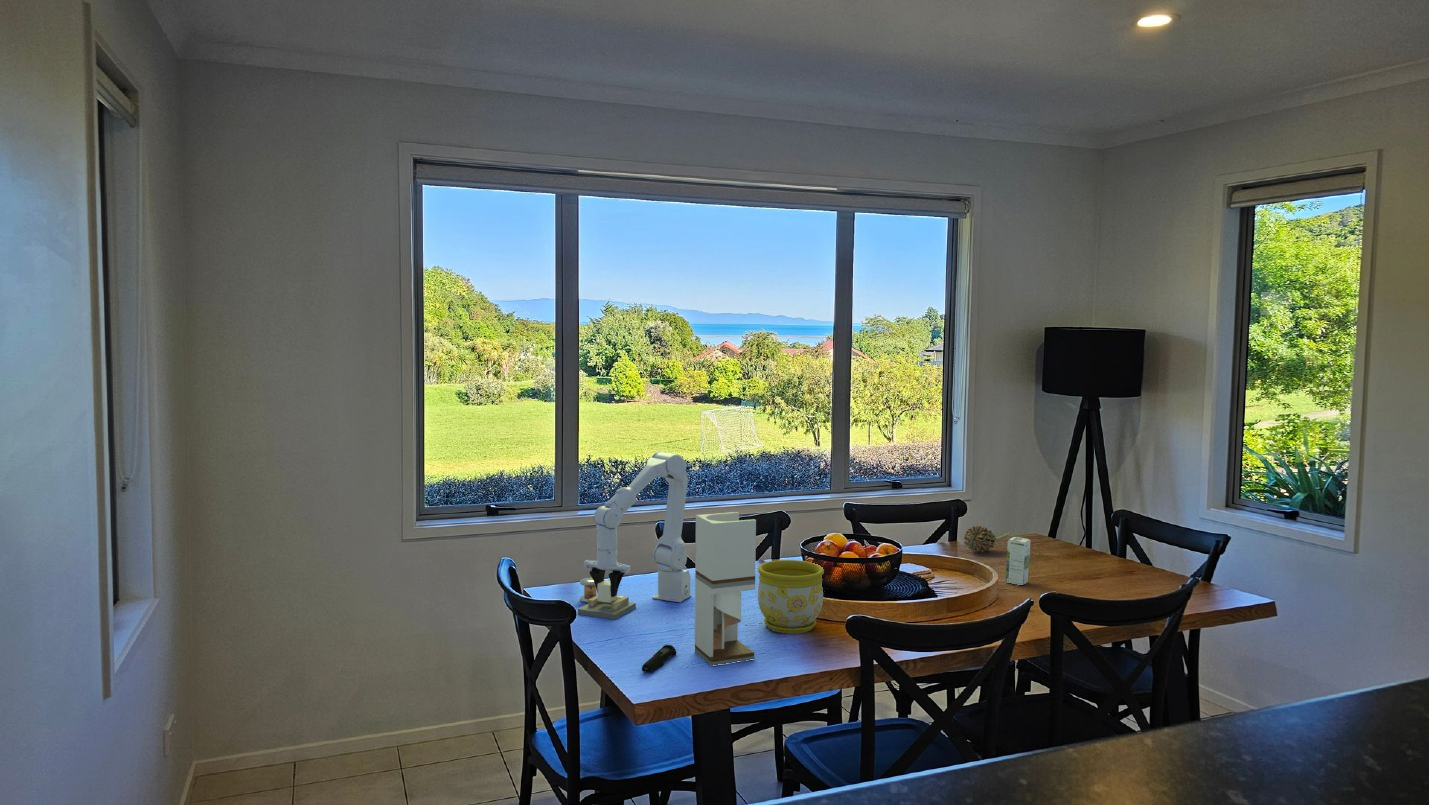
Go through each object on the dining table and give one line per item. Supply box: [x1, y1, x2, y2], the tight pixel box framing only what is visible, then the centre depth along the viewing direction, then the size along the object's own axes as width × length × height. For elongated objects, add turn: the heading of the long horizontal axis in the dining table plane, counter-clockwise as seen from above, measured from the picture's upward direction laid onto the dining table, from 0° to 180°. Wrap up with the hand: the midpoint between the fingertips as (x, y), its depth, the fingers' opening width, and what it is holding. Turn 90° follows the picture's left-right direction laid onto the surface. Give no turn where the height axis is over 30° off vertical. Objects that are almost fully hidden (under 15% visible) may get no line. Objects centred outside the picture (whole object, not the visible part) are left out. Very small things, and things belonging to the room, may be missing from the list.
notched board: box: [577, 594, 637, 621], centre depth 263 cm, size 12×12×4 cm
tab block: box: [597, 579, 618, 603], centre depth 262 cm, size 4×4×5 cm
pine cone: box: [962, 525, 1011, 552], centre depth 339 cm, size 22×10×10 cm, turn 123°
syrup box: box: [1005, 536, 1031, 586], centre depth 295 cm, size 6×6×14 cm
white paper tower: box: [694, 511, 757, 667], centre depth 226 cm, size 11×11×35 cm
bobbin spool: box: [579, 577, 598, 604], centre depth 273 cm, size 6×6×6 cm
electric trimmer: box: [641, 644, 678, 673], centre depth 222 cm, size 4×16×3 cm, turn 159°
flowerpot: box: [757, 559, 824, 635], centre depth 250 cm, size 18×18×16 cm
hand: (607, 595), depth 263 cm, fingers closed on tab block, 4 cm apart
